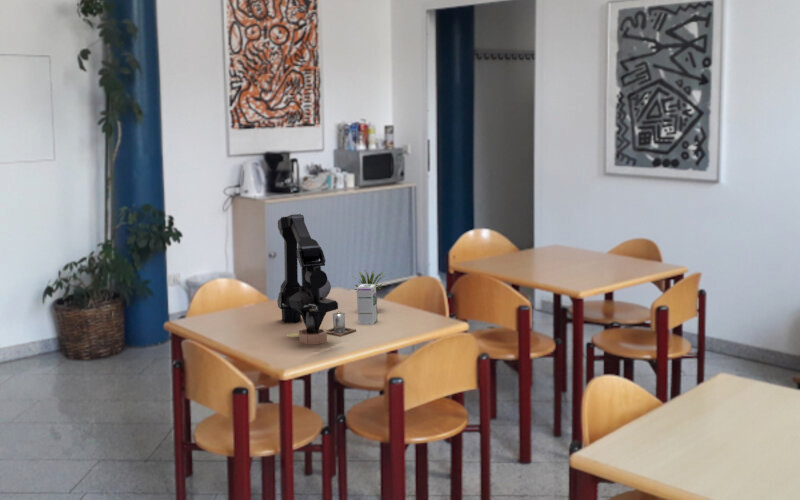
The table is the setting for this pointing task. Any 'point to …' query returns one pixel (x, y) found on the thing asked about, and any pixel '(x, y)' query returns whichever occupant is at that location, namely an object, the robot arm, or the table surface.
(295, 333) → the blue grey board
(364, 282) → the house plant
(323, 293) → the bluetooth speaker
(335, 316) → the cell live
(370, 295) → the syrup box
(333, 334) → the brown wooden tray
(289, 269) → the robot arm
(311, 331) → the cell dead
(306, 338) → the pot
